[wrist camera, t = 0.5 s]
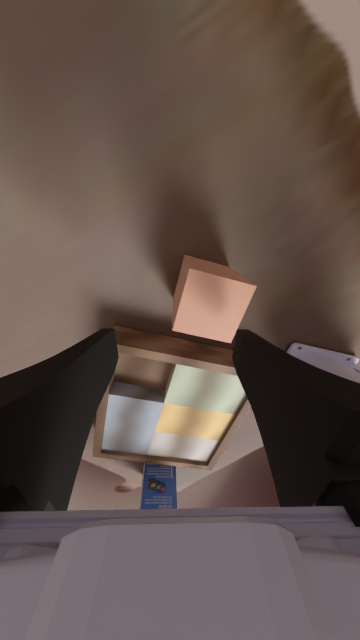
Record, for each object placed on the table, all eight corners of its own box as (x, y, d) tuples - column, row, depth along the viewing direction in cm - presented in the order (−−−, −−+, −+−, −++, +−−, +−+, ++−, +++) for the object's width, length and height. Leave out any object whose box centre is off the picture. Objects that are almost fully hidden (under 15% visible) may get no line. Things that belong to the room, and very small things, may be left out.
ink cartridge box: (172, 477, 36) (170, 616, 23) (143, 476, 36) (126, 617, 23) (177, 448, 32) (179, 599, 19) (145, 446, 31) (124, 600, 18)
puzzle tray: (258, 355, 23) (271, 375, 20) (208, 446, 32) (211, 470, 29) (114, 324, 21) (103, 341, 18) (101, 432, 29) (92, 456, 26)
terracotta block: (228, 266, 18) (256, 286, 12) (213, 308, 20) (230, 343, 14) (184, 254, 18) (189, 268, 11) (173, 298, 20) (172, 330, 13)
